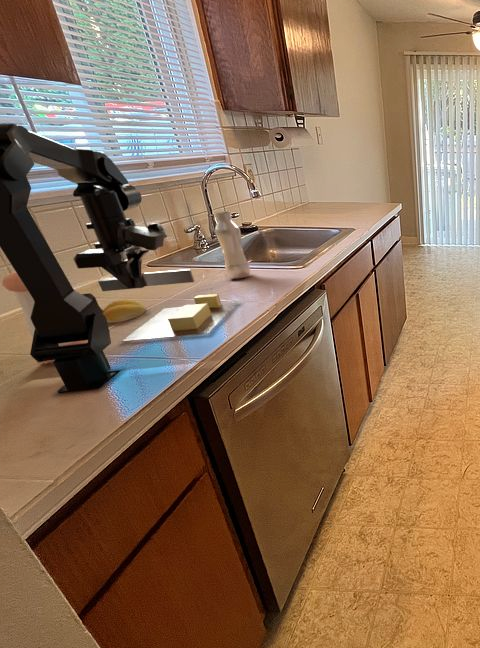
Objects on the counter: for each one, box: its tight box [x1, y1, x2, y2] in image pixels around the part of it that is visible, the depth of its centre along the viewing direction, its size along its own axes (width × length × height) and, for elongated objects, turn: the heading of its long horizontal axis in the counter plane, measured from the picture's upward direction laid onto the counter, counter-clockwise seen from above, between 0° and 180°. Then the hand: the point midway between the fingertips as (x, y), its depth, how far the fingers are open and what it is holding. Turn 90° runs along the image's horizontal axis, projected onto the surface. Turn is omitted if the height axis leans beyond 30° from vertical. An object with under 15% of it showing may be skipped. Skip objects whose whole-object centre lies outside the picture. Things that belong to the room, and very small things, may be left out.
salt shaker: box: [2, 270, 88, 365], centre depth 77 cm, size 7×7×19 cm
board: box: [122, 301, 237, 342], centre depth 95 cm, size 18×17×1 cm
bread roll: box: [102, 299, 147, 324], centre depth 97 cm, size 8×9×4 cm
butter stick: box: [168, 303, 211, 331], centre depth 93 cm, size 8×5×3 cm, turn 11°
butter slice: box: [193, 293, 223, 308], centre depth 101 cm, size 2×5×3 cm, turn 101°
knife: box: [97, 268, 196, 292], centre depth 89 cm, size 18×2×3 cm, turn 101°
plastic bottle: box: [214, 211, 251, 279], centre depth 121 cm, size 6×7×20 cm
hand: (134, 286), depth 89 cm, fingers closed on knife, 2 cm apart
